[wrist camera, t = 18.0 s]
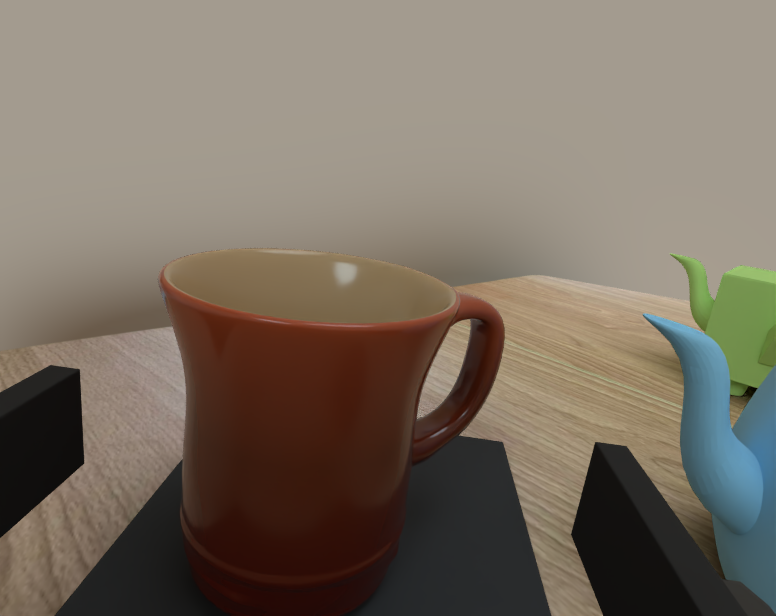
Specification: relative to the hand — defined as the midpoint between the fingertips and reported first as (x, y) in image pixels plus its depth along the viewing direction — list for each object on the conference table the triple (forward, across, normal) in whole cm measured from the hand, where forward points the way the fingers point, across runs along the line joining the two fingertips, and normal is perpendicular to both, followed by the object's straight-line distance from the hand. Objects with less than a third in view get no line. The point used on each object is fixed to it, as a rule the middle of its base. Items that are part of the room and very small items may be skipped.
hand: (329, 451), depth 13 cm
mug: (+5, 0, -8) cm, 9 cm away
